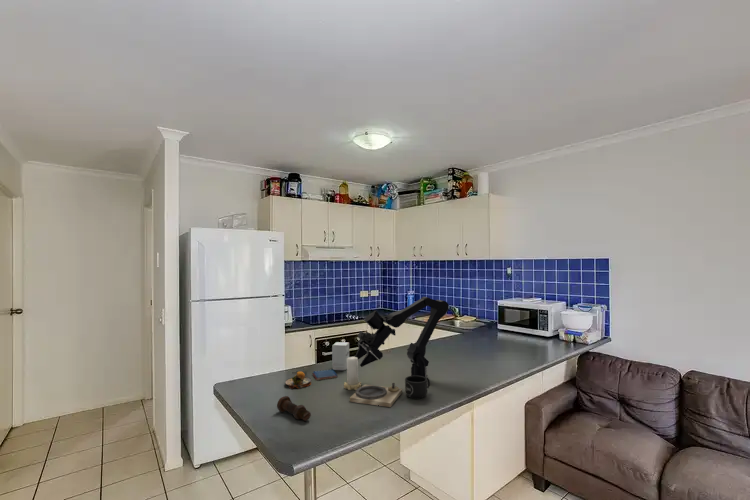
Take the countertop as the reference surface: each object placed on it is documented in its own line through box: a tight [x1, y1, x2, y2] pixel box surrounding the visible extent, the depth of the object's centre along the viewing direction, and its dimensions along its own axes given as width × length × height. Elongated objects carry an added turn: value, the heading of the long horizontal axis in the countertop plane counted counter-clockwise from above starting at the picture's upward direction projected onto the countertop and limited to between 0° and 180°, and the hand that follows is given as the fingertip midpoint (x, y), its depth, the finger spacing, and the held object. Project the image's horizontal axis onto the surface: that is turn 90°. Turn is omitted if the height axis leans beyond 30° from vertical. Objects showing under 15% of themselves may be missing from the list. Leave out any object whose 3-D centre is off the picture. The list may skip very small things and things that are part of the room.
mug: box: [404, 375, 431, 400], centre depth 149 cm, size 12×9×7 cm
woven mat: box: [312, 368, 338, 381], centre depth 175 cm, size 10×11×2 cm
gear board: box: [349, 382, 403, 408], centre depth 148 cm, size 17×16×4 cm
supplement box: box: [331, 341, 350, 371], centre depth 187 cm, size 7×7×13 cm
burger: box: [284, 368, 312, 390], centre depth 164 cm, size 12×12×8 cm
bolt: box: [276, 395, 312, 422], centre depth 131 cm, size 6×5×15 cm
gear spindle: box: [343, 356, 362, 391], centre depth 160 cm, size 8×8×12 cm
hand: (357, 363), depth 160 cm, fingers open, 9 cm apart
